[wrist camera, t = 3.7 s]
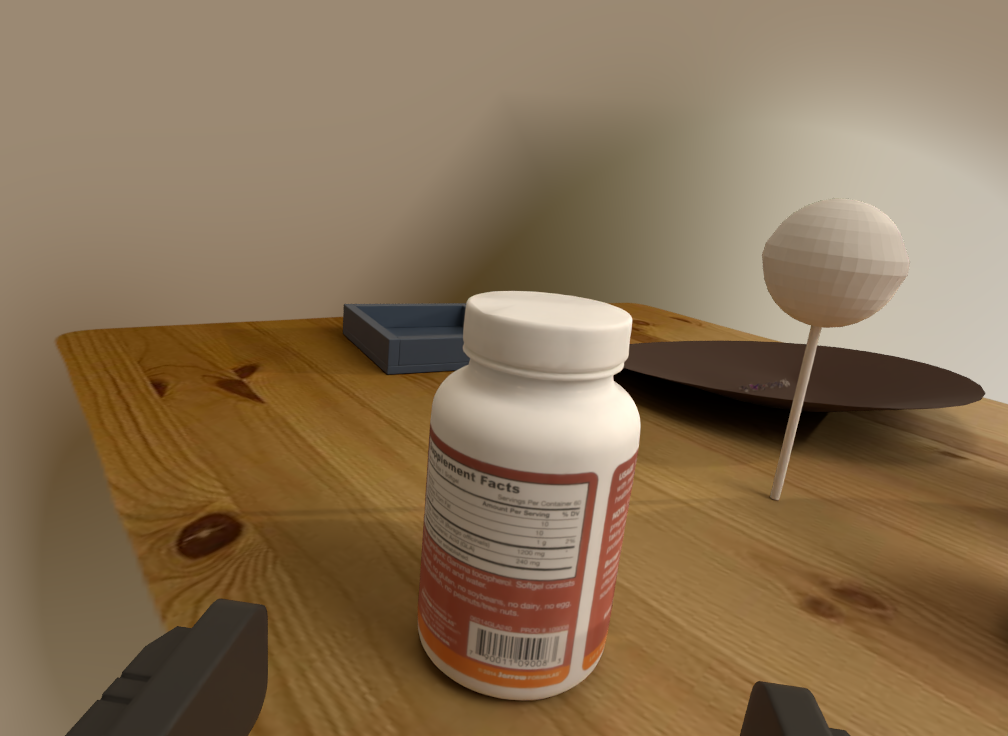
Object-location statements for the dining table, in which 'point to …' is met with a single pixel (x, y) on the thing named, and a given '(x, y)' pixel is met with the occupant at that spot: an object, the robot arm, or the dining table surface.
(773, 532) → the dining table surface
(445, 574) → the pill bottle
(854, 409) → the plate
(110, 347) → the dining table surface
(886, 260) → the lollipop
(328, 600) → the dining table surface
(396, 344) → the tray
